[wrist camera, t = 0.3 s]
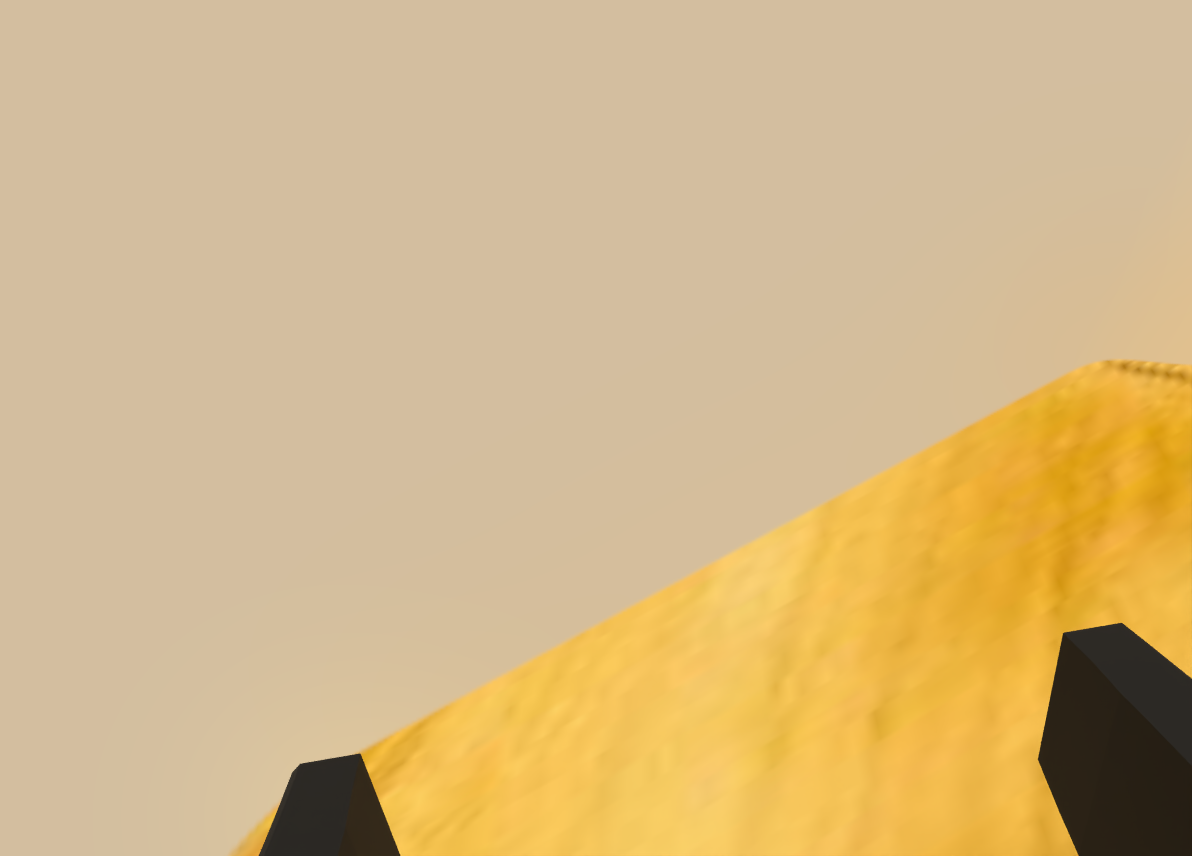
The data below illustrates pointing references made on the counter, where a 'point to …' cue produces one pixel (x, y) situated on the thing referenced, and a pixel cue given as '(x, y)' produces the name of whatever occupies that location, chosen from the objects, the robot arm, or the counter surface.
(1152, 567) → the counter surface
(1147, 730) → the robot arm
